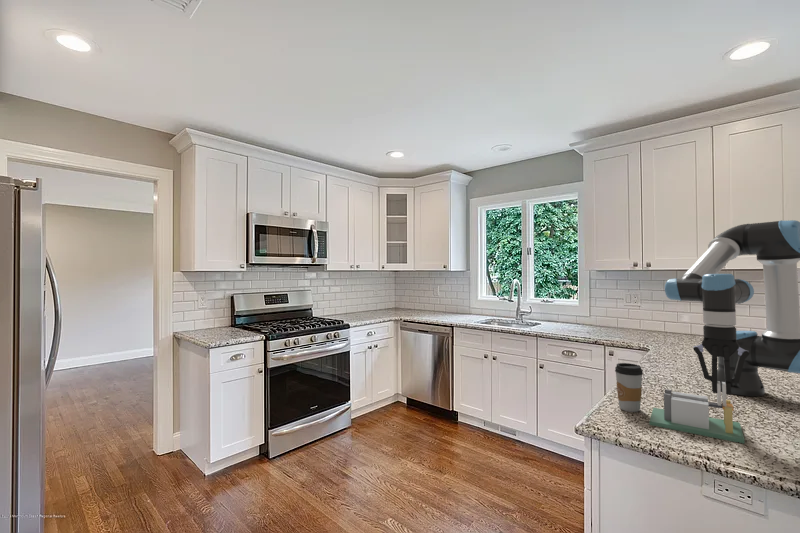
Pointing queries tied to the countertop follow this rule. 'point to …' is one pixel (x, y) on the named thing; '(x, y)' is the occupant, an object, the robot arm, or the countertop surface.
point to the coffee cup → (629, 386)
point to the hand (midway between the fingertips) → (721, 404)
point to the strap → (718, 405)
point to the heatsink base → (710, 433)
